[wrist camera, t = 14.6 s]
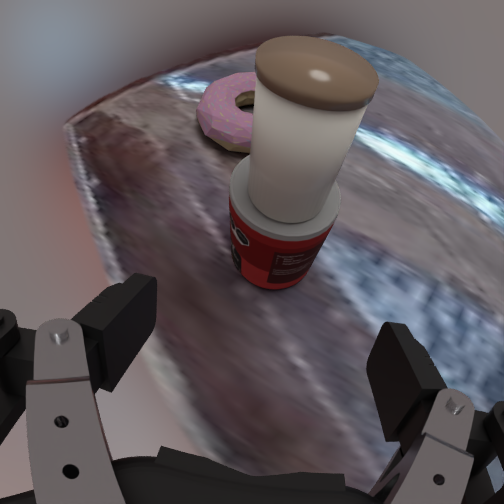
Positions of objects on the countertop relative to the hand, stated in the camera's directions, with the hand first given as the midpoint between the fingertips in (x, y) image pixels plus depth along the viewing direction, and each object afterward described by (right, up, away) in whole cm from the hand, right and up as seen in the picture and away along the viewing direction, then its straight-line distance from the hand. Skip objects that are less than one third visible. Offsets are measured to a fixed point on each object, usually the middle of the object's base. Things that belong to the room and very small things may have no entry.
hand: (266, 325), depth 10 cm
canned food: (+1, +2, +21) cm, 21 cm away
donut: (0, +20, +29) cm, 36 cm away
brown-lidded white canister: (+2, +7, +10) cm, 13 cm away
